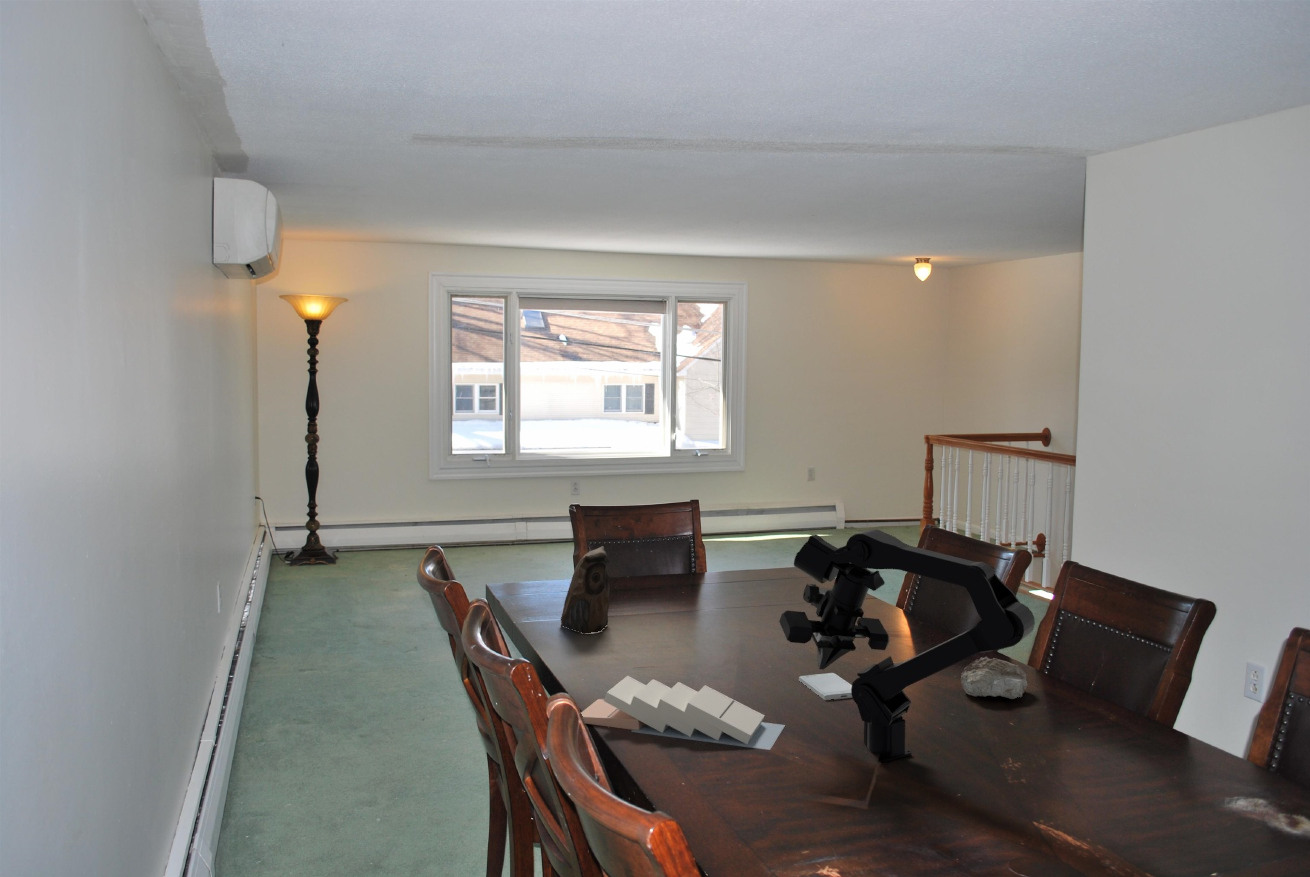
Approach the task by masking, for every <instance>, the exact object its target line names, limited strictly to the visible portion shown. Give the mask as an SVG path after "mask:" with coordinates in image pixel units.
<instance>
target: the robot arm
mask: <svg viewBox="0 0 1310 877" xmlns="http://www.w3.org/2000/svg"><path fill="white" fill-rule="evenodd" d="M845 544H846V545H844V546H841V547H836V546H835V545H833V544H831V543H830V542H827V541H826V540H825V539H824V538H823V537H821V536H819V535H818V534H813V535H809V537H808V540H807V541H806V542H805V543H804V544H803V546H802V547H801V548H800V549H799V551H798V552H797V553H796V554H795V556H794V557H795V558H794V560H793V566H794V568H796V569H798V571H801V572H802V573H803V574H806V575H807V576H809V577H810V578H812V579H814V580H815V581H817V582H819V583H820V584H825V583H826V582H827V581H828V582H833V581H834V582H833V585H832V588H825V587H820V586H818V585H817V584H814V583H806V584H805V585H806V586H805V588H804V590H803V594H802V599H803V600H804V602H805V603H807V604H810V606H812V607H814V608H816V611H815V614H816V616H817V617H819V618H820V620H814V619H813V620H812V619H809V618H808V615H807V614H806V611H798V610H785V611H783V612H782V613H781V615H780V618H779V621H778V623H779V624H780V626H781V629H782V632H783V633H784V637H785V638H786V641H788V642H790V643H794V644H807V643H809V642H810V641H813V642H814V644H815V645H816V653H817V654H816V655H817V656H816V658H817V667H818V669H819V670H825V669H827V668H828V667H829V666H830V665H832V664H833V663H834V662H836V661H837V660H839V659H840V658H841V657H843V656H845V655H847V654H848V653H849V652H855V651H856V649H857V648H856V645H855V643H854V642H855V640H856V639H867V638H868V641H867V644H868V646H869V648H870V649H871V650H875V651H876V650H877V651H886V650H887V649H888V646H889V643H890V635H889V633H888V632H887V630H886V629H885V626H884V625H883V623H882V621H881V620H880V619H879V618H873V617H864V614H865V612H864V610H863V609H862V608H863V605H864V603H865V601H866V600H865V599H866V597H867V595H868V592H869V590H872V591H875V592H876V591H877V590H878V589H880V588H882V587H883V586H884V585H885V580H884V578H883V577H882V576H881V574H880V571H879V570H898V571H902V572H906V573H910V574H913V575H917V576H921V577H926V578H929V579H932V580H935V581H941V582H945V583H949V584H951V585H956V586H959V587H964V588H965V590H966V591H967V592H968V594H969V596H970V599H971V600H972V603H973V605H974V608H975V610H976V613H977V615H978V616H979V617H980V619H981V620H980V621H979V622H977V623H976V624H975V625H974V626H972V627H971V628H970V629H968V630H966V631H964V632H962V633H960V634H958V635H956V636H954V637H952V638H950V639H948V640H945V641H943V642H942V643H939V644H937V645H936V646H934V647H933V646H932V648H929V649H927V650H925V651H923V652H921V653H919V654H916V655H915V656H913V657H910V658H909V659H907V660H905V661H902V662H895V663H894V660H893V658H892V656H888V657H887V658H885V659H883V660H881V661H880V662H877V663H873V664H871V665H870V666H868V667H866V668H864V669H863V670H861V671H859V672H857V674H856V675H857V677H858V678H856V679H854V681H853V682H852V684H851V685H852V688H851V693H852V697H853V698H852V699H853V702H854V703H855V704H856V706H857V709H858V711H859V716H860V719H861V721H863V731H864V732H863V736H864V737H863V743H864V745H865V746H866V747H867V749H868V750H869V751H870V752H872V753H873V754H876V755H879V756H878V759H877V760H878V761H880V762H883V763H888V762H891V761H895V760H899V759H902V758H906V757H908V756H912V755H913V751H911V750H910V749H907V748H906V719H904V717H903V715H904V714H907V713H908V712H909V710H910V708H911V706H912V705H911V704H912V701H911V699H910V698H909V697H908V696H907V694H906V693H905V692H904V690H905V689H907V688H908V687H909V686H912V685H914V684H915V683H917V682H919V681H922V680H924V679H926V678H928V677H931V676H933V675H935V674H936V673H939V672H942V671H943V670H946V669H947V668H949V667H952V666H954V665H956V664H958V663H960V662H962V661H965V660H967V659H969V658H971V657H973V656H975V655H978V654H984V653H990V652H995V651H999V650H1004V649H1007V648H1008V649H1009V648H1011V647H1014V646H1016V645H1017V644H1020V642H1021V641H1023V640H1024V639H1025V638H1027V637H1028V636H1029V635H1030V634H1032V632H1033V631H1034V628H1035V625H1036V622H1035V620H1036V619H1035V616H1034V613H1033V611H1032V610H1031V609H1030V608H1029V607H1028V606H1027V605H1026V604H1024V603H1022V602H1021V601H1020V600H1019V599H1018V597H1017V596H1016V594H1015V593H1014V592H1013V590H1011V588H1009V586H1007V585H1006V584H1005V583H1004V582H1003V581H1002V580H1001V578H999V576H997V574H996V572H995V571H994V569H993V568H992V567H991V566H990V565H989V564H988V563H985V562H984V561H973V560H971V559H970V560H969V559H964V558H961V557H956V556H953V555H949V554H947V553H946V554H945V553H941V552H936V551H933V550H929V549H924V548H922V547H921V548H920V547H917V546H913V545H909V544H907V543H904V542H903V541H901V540H900V539H899V538H897V537H896V536H894V535H892V534H888V533H887V532H884V531H883V530H880V529H877V528H876V529H875V528H872V529H871V528H870V529H868V530H864V531H861V532H858V533H855V534H853V535H851V536H850V537H849V538H848V540H847V541H846V543H845ZM872 570H875V571H872Z"/></svg>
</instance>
